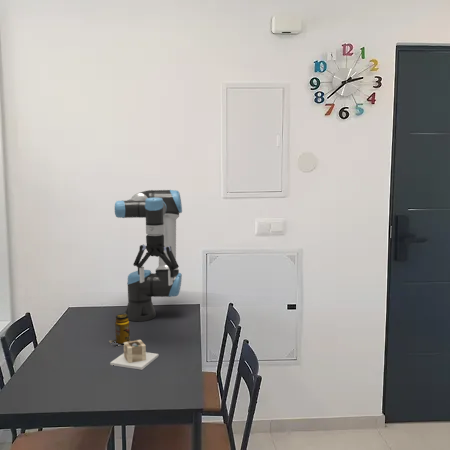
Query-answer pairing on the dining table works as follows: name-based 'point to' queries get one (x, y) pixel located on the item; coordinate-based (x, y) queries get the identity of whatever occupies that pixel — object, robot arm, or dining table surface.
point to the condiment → (122, 329)
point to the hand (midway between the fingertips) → (156, 283)
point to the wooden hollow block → (134, 351)
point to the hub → (135, 365)
